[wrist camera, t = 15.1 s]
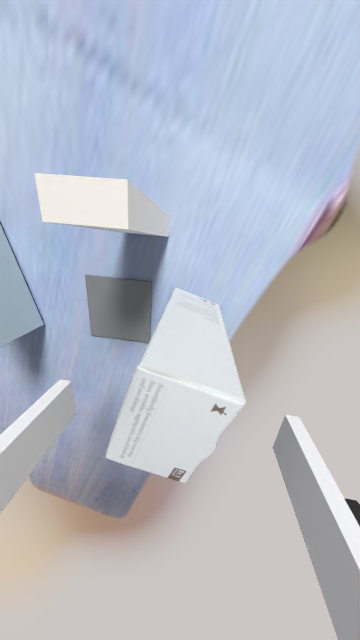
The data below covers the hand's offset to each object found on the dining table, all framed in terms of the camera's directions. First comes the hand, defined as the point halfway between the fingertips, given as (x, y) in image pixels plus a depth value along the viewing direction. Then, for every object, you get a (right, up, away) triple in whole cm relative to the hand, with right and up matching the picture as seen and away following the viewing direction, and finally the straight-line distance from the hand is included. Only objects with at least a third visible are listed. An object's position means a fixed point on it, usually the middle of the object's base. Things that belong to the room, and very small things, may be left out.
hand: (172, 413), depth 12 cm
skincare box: (+1, +5, +12) cm, 13 cm away
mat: (-7, +7, +12) cm, 16 cm away
